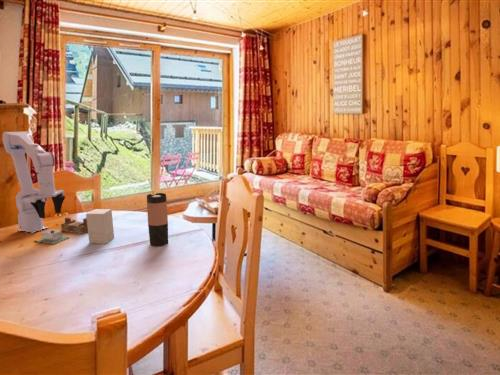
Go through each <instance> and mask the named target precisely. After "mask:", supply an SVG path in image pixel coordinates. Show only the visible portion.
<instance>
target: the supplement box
mask: <svg viewBox="0 0 500 375" xmlns="http://www.w3.org/2000/svg"><path fill="white" fill-rule="evenodd" d="M85 215H86V217H85V218H87V226H88V233H87V235H88V243H89V244H99V245H101V244H104V245H105V244H108V243H109V242H111V241H112V240H113V239H115V232H114V222H113V219H114V218H113V212H112V209H111V208H107V209H106V208H104V209H103V208H95V209H93V210H90V211H88V212H87V213H85Z"/></svg>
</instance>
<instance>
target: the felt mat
mask: <svg viewBox="0 0 500 375" xmlns="http://www.w3.org/2000/svg"><path fill="white" fill-rule="evenodd" d="M65 239H66V240H69V239H70V237H69V236H63V235H62V238H61V239H59V240H56V241H54V242H52V241H45V240H38V239H36V240H37V241H38V242H37V243H39V242H43V243H42V244H45V243H49V244H48V245H52V244H54V245H56V244H58V242H59V243H61V242H63V240H64V241H66V240H65ZM60 241H61V242H60ZM55 243H56V244H55Z"/></svg>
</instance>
